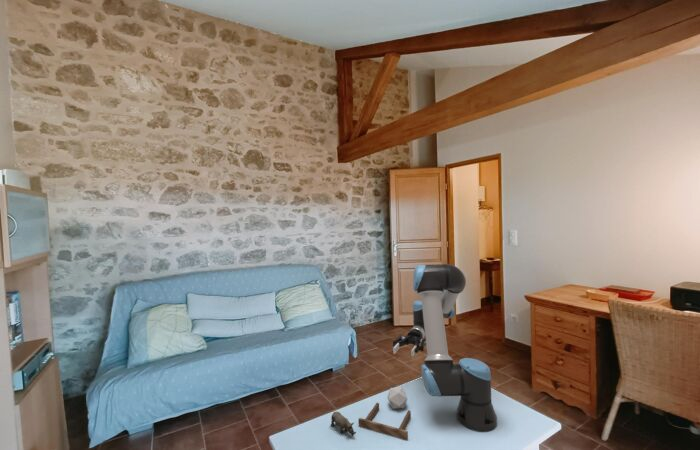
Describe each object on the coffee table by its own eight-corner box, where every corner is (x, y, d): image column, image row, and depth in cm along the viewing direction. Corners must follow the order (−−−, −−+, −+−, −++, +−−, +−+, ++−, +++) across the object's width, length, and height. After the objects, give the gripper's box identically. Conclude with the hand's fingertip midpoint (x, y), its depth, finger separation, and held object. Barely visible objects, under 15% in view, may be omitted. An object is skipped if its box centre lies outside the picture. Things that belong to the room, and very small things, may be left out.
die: (402, 416, 133) (412, 394, 136) (384, 405, 135) (394, 383, 138) (399, 412, 141) (409, 391, 144) (382, 401, 143) (392, 380, 145)
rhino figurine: (351, 443, 118) (351, 427, 118) (328, 426, 128) (328, 411, 128) (359, 437, 121) (359, 422, 120) (336, 421, 131) (336, 407, 131)
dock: (416, 419, 130) (416, 412, 130) (407, 440, 118) (406, 432, 118) (371, 408, 139) (371, 401, 139) (358, 426, 127) (358, 419, 127)
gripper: (436, 345, 164) (425, 364, 144) (397, 339, 173) (382, 356, 153) (435, 330, 164) (424, 347, 143) (396, 326, 173) (381, 341, 153)
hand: (403, 352), depth 148 cm, fingers open, 8 cm apart
